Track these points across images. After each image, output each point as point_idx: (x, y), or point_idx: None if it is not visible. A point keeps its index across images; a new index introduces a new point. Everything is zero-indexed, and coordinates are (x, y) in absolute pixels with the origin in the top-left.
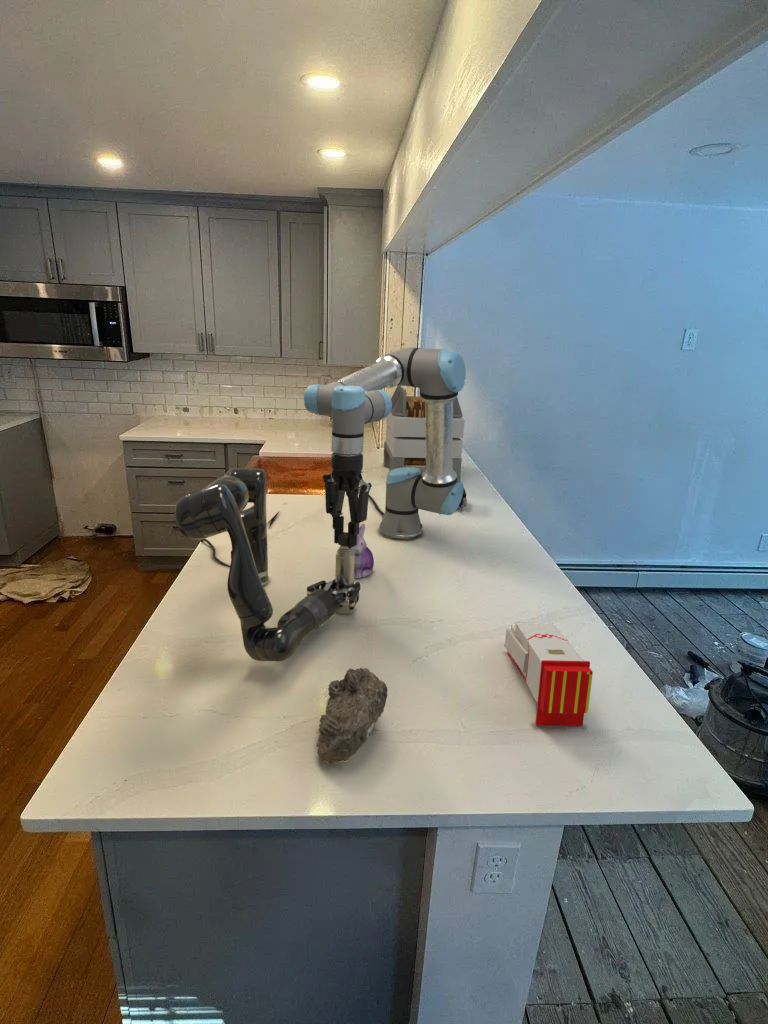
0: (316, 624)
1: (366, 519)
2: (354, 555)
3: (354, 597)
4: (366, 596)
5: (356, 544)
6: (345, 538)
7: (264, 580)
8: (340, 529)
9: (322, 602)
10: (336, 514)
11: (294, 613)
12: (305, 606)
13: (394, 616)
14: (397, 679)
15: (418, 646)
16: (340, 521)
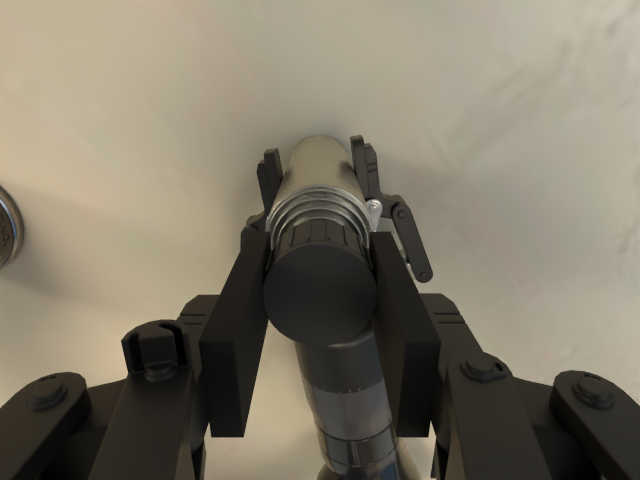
0: None
1: (612, 384)
2: (369, 214)
3: (422, 255)
4: (320, 32)
5: (390, 235)
6: (353, 332)
7: (5, 219)
8: (258, 310)
9: (383, 381)
10: (203, 457)
11: (368, 472)
12: (366, 436)
13: (479, 89)
14: (608, 326)
15: (613, 188)
16: (246, 361)
